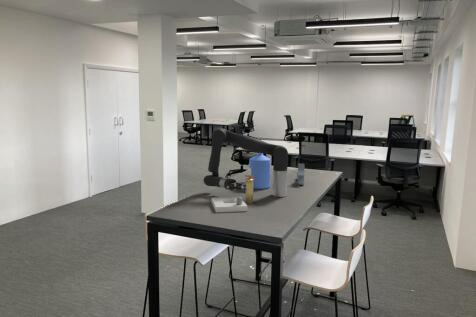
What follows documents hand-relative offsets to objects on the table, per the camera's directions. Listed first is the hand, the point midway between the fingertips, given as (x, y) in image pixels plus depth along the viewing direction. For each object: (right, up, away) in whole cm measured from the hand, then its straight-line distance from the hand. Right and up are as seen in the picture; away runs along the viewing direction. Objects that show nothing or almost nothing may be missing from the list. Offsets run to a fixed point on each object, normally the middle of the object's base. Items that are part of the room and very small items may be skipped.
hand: (245, 187), depth 238 cm
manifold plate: (-10, -10, -10) cm, 18 cm away
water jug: (+11, -3, +45) cm, 46 cm away
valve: (+2, -9, -1) cm, 10 cm away
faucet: (+44, -1, +64) cm, 78 cm away
